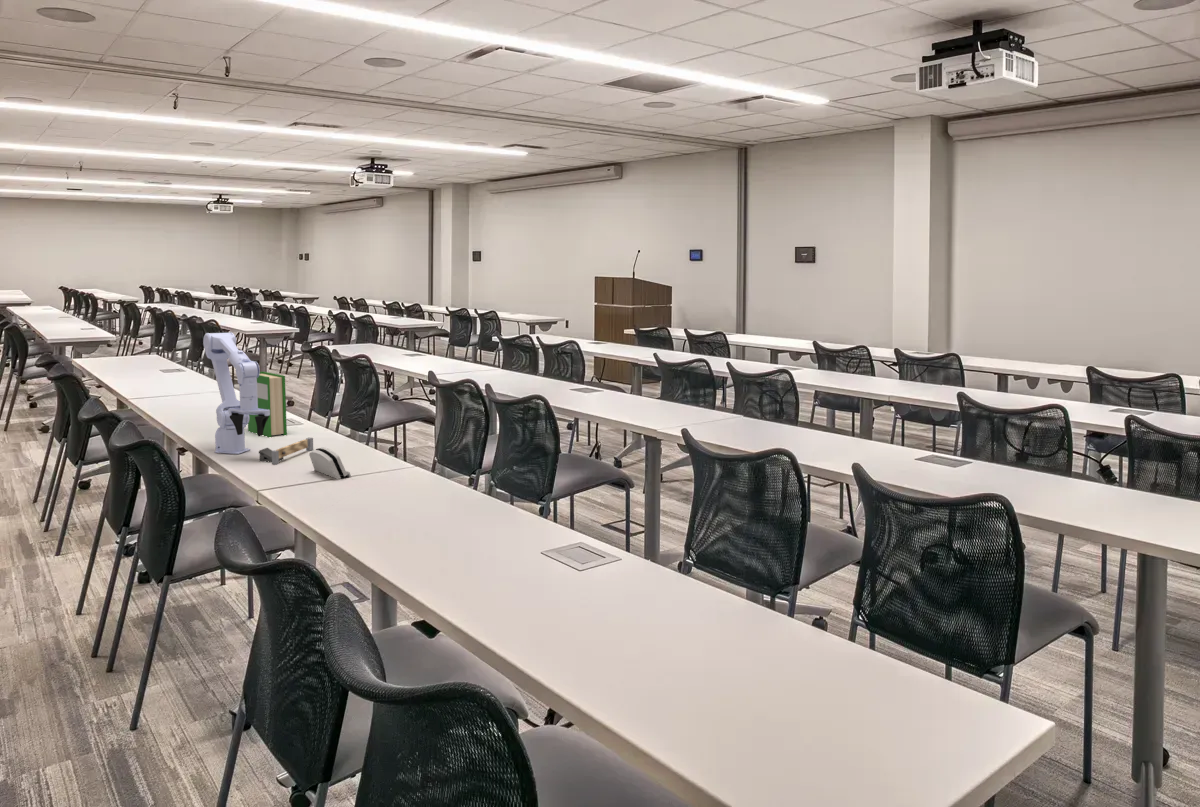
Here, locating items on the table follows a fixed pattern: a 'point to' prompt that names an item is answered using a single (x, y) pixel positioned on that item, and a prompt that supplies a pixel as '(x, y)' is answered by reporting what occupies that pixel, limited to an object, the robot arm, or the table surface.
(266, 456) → the wedge
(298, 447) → the gate
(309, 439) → the pair of grey posts
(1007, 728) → the table surface
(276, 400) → the hardback book
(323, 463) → the grey arched piece
